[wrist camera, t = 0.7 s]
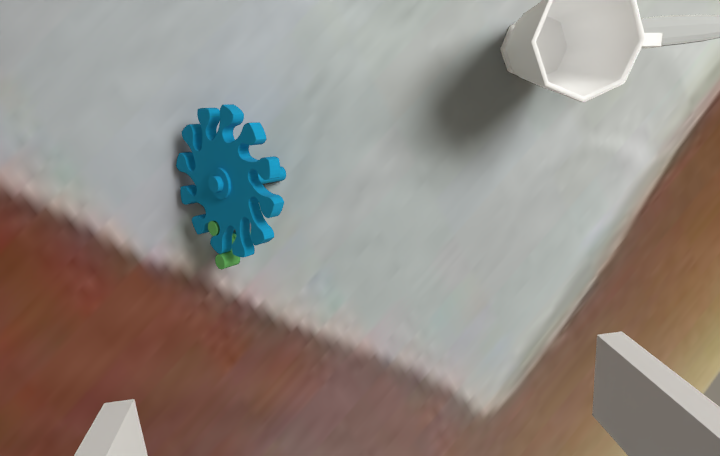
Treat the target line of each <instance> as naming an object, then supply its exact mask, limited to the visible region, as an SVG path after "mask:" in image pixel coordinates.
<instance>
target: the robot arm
mask: <svg viewBox="0 0 720 456" xmlns="http://www.w3.org/2000/svg"><path fill="white" fill-rule="evenodd" d="M592 415H593V416H594V418H595V419H596V420H597V421H598V422H599V423H600V424H601V425H602V427H603V428H604V429H605V430H606V431H607V432H608V433H609V434H610V436H611V437H612V438H613V439H614V440H615V441H616V442H617V443H618V445H619V446H620V447H621V448H622V449H623V450H624V451H625V452H626V454H627V455H628V456H720V407H719V406H718V405H716V404H715V403H714V402H713V401H711V400H710V399H709V398H707V397H706V396H705V395H703V394H702V393H701V392H700V391H698V390H697V389H696V388H694V387H693V386H692V385H690V384H689V383H688V382H687V381H685V380H684V379H683V378H681V377H680V376H679V375H678V374H676V373H675V372H674V371H672V370H671V369H670V368H668V367H667V366H666V365H665V364H663V363H662V362H661V361H659V360H658V359H657V358H655V357H654V356H653V355H652V354H650V353H649V352H648V351H646V350H645V349H644V348H642V347H641V346H640V345H639V344H637V343H636V342H635V341H633V340H632V339H631V338H630V337H628V336H627V335H626V334H624V333H623V332H615V333H608V334H600V335H597V346H596V363H595V380H594V397H593V414H592ZM74 456H148V455H147V451H146V447H145V443H144V439H143V434H142V430H141V426H140V422H139V418H138V413H137V409H136V405H135V401H134V399H131V400H124V401H117V402H110V403H104V405H103V407H102V408H101V410H100V412H99V413H98V415H97V417H96V419H95V420H94V422H93V424H92V426H91V427H90V429H89V431H88V432H87V434H86V436H85V438H84V439H83V441H82V443H81V445H80V446H79V448H78V450H77V451H76V453H75V455H74Z"/></svg>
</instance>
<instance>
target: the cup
mask: <svg viewBox="0 0 720 456" xmlns="http://www.w3.org/2000/svg"><path fill="white" fill-rule="evenodd" d="M661 43H662V33H644V30H643V26H642V22H641V18H640V14H639V10H638V6H637V2H636V0H542V1H541V2H540V3H538V4H537V5H536V6H534V7H533V8H531V9H530V10H528V11H527V12H525V13H524V14H523V15H522V16H521V17H520V19H519V20H518V21H517V22H516V23H515V24H513V25H511V26H509V29H508V31H507V34H506V36H505V38H504V41H503V43H502V46H501V48H500V50H501V53H502V56H503V59H504V62H505V65H506V68H507V71H508V72H510V73H513V74H515V75H517V76H519V77H520V78H522V79H525V80H527V81H529V82H532V83H534V84H537V85H539V86H541V87H544V88H546V89H548V90H551V91H554V92H557V93H560V94H563V95H566V96H568V97H571V98H573V99H576V100H579V101H581V102H586V101H588V100H590V99H592V98H594V97H596V96H598V95H601V94H603V93H605V92H607V91H609V90H611V89H613V88H615V87H617V86H620V85H622V84H624V83H625V81H626V79H627V77H628V75H629V73H630V71H631V69H632V67H633V64H634V62H635V60H636V58H637V56H638V54H639V52H640V50H641V49H643V48H653V47H661Z"/></svg>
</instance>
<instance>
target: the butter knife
mask: <svg viewBox="0 0 720 456" xmlns="http://www.w3.org/2000/svg"><path fill="white" fill-rule="evenodd" d="M641 22H642V26H643V30H644V33H662V43H661V45H671V44H680V43H689V42H696V41H704V40H708V39H713V38H718V37H720V15H670V16H656V17H647V18H641Z"/></svg>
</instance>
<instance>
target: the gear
mask: <svg viewBox="0 0 720 456" xmlns="http://www.w3.org/2000/svg"><path fill="white" fill-rule="evenodd" d="M243 118H244V114H243V112H242V111H241V110H240V109H239V108H238V107H237V106H235V105H222V106H221V108H220V111H219V109H217V108H201V109H198V119H199V122H200V124H190V125H187V126H186V127H185V128H184V129H183V131H182V137H183V139H184V141H185V142H186V143H187V144H188V145H189V147H190V148H191V151H192V152H184V153H179V155H178V158H177V164H176V166H177V168H178V170H179V171H181V172H184V173H186V174H188V175H189V176H190V177H191V179H192V180H193V181H194V183H195V185H196V186H195V185H188V186H182V187H181V190H180V191H181V200H182V203H183V204H185V205H187V204H192V203H199V204H201V205H202V206H203V207H204V208H205V211H206V214H202V215H198V216H194V217H193V218H192V223H193V226H194V228H195V230H196V232H197V234H202V233H206V232H210V234H211V235H212V236H213V237H212V238H211V241H210V244H211V246H212V247H213V249H214V250H215V251H216V252H217V253H219V254H218V255H216V257H215V262H216V265H217V267H218V268H219V269H224V268H227V267H230V266H234V265H237V264H239V262H240V257H246V256H250V255H253V254H254V245H259V244H262V243H266V242H268V241H270V240H271V239H272V238H274V232H273V230H272V228H271V227H270V226H269V225H268V224H267V222H266V221H265V219H264V218H263V215H264V216H265V217H267V218H270V217H275V216H278V215H279V214H280V213H281V211H282V208H283V204H284V201H283V199H282V197H281V196H279V195H276V194H273V193H271V192H269V191H268V190H267V189H266V188H265V187H264V186H263V184H265V183H271V182H276V181H282V180H284V179H285V178H286V171H285V169H284V168H283V167H280V163H279V159H278V158H277V157H266V158H261V159H260V160H256V159H254V158H252V157H251V156H250V154H249V149H248V148H249V145H258V144H263V143H264V142H265V141H266V135H265V132H264V130H263V127H262V126H261V124H260V123H247V124H245V125H244V127H243V129H242V132H241V134H240V136H239V137H238V138H237V139H236V140H235V139H234V137H233V129H234V127H235V126H237V125H240V124H241V123H242V121H243ZM219 121H220V125H219V130H218V132H217V133H216V128H217V125H218V123H219ZM259 204H260V205H259ZM260 208H261V209H260ZM261 211H262V213H263V215H262V213H261ZM253 244H254V245H253Z"/></svg>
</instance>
